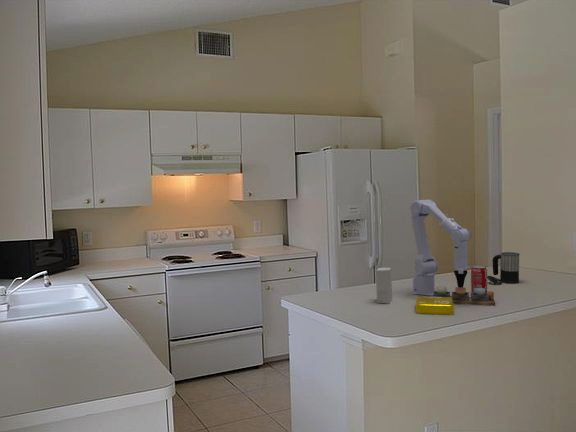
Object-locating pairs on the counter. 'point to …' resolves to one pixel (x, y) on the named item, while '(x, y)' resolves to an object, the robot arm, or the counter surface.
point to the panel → (469, 298)
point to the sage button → (441, 290)
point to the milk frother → (506, 268)
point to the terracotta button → (460, 291)
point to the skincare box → (384, 285)
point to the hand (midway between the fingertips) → (460, 287)
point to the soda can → (478, 277)
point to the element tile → (434, 305)
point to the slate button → (479, 291)
